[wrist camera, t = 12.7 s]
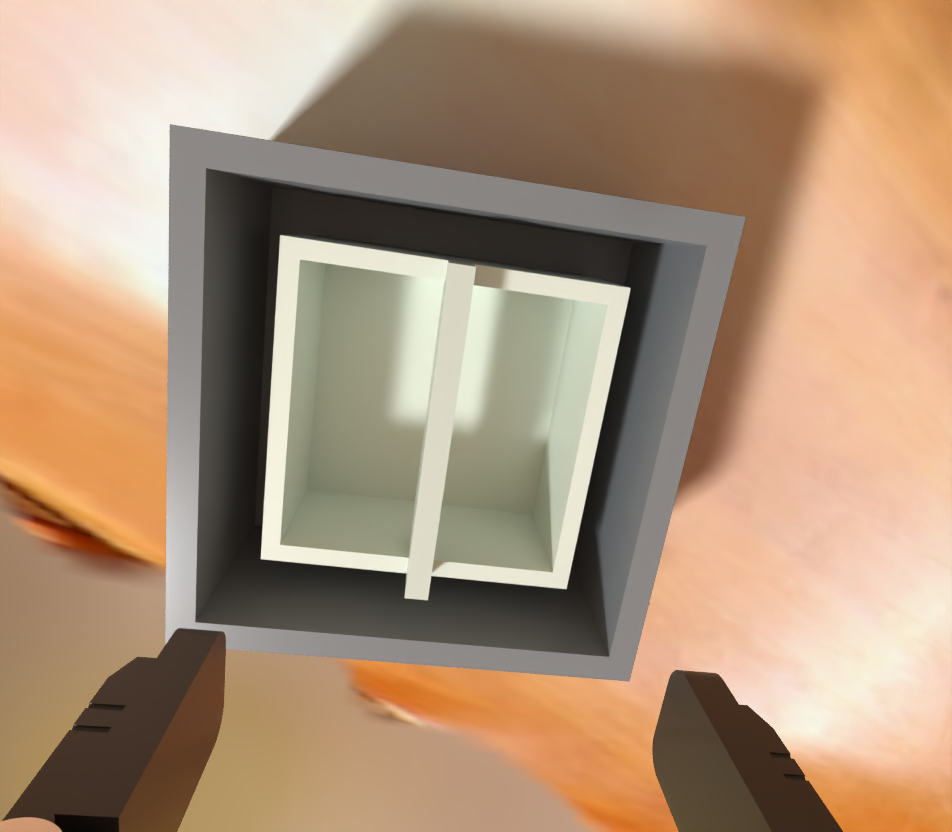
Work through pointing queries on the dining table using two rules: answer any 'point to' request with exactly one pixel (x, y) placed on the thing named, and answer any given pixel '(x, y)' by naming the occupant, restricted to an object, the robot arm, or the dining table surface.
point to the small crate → (433, 412)
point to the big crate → (445, 232)
